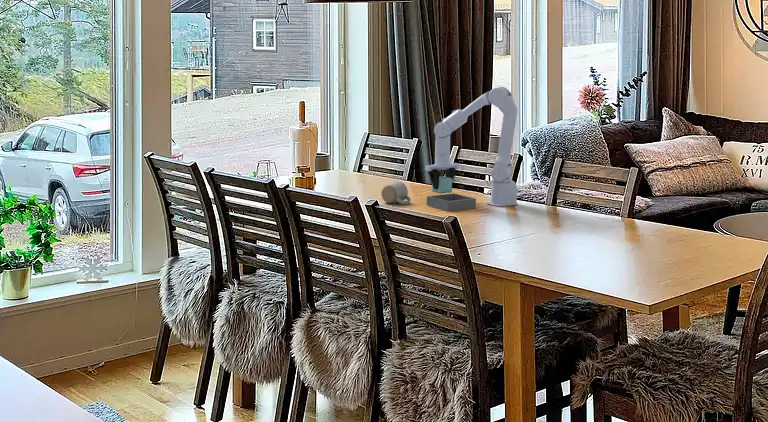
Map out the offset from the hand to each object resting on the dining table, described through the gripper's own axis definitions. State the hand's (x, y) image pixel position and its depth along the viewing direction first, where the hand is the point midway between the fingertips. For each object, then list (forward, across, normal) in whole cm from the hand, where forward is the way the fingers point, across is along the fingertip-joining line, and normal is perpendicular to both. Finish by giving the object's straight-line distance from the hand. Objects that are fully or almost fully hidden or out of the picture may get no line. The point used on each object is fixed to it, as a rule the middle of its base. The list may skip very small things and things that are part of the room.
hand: (441, 188), depth 364 cm
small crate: (+1, 0, 0) cm, 1 cm away
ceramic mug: (+5, +18, -5) cm, 19 cm away
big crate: (+5, +5, +12) cm, 14 cm away
